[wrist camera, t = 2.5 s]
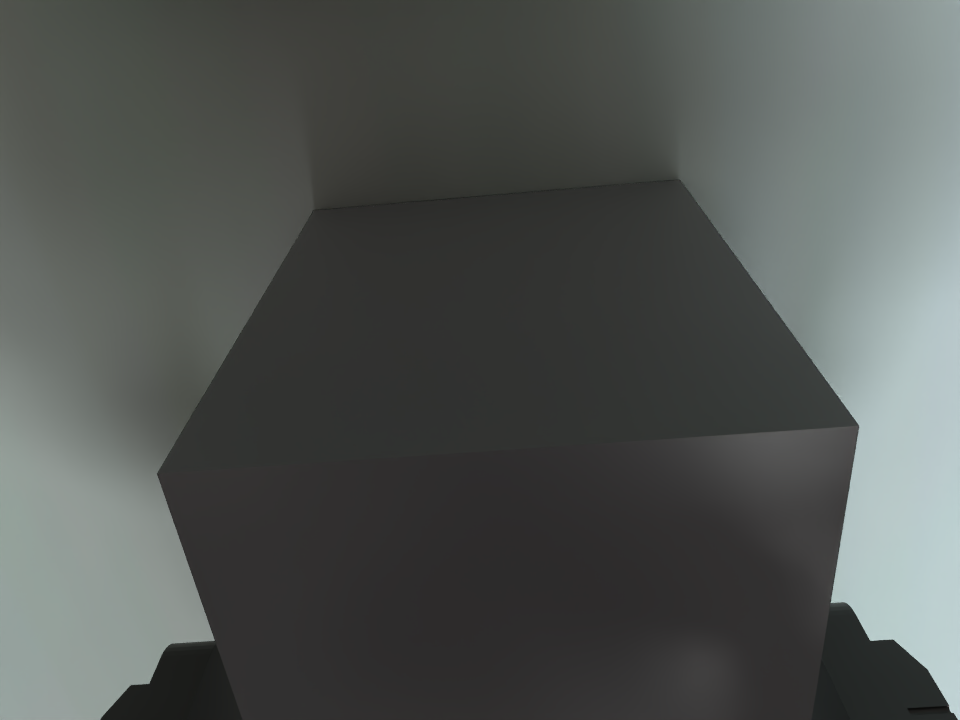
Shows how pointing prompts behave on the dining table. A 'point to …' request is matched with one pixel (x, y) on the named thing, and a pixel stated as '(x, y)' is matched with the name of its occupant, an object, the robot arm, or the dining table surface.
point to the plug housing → (516, 471)
